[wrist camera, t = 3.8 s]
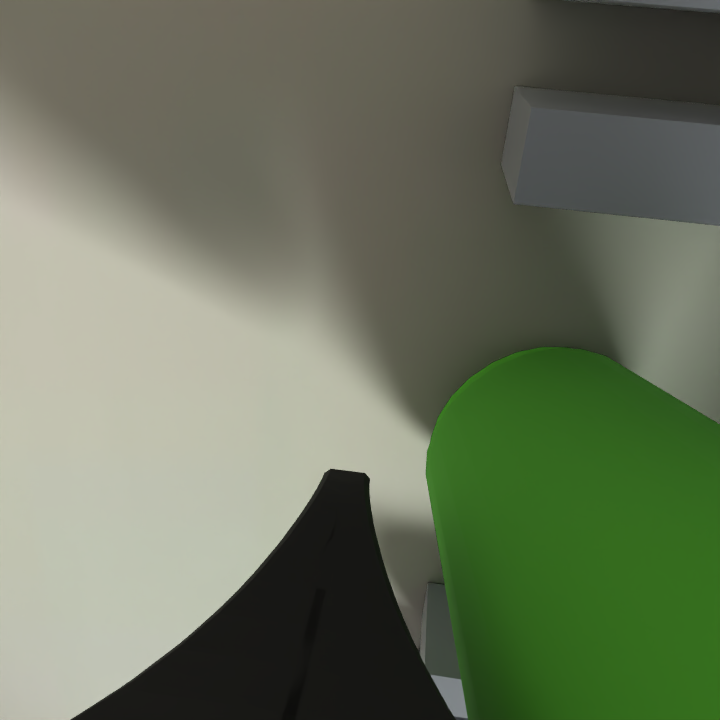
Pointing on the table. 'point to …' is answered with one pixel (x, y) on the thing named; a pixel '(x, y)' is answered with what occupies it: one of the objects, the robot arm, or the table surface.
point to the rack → (595, 209)
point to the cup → (578, 542)
